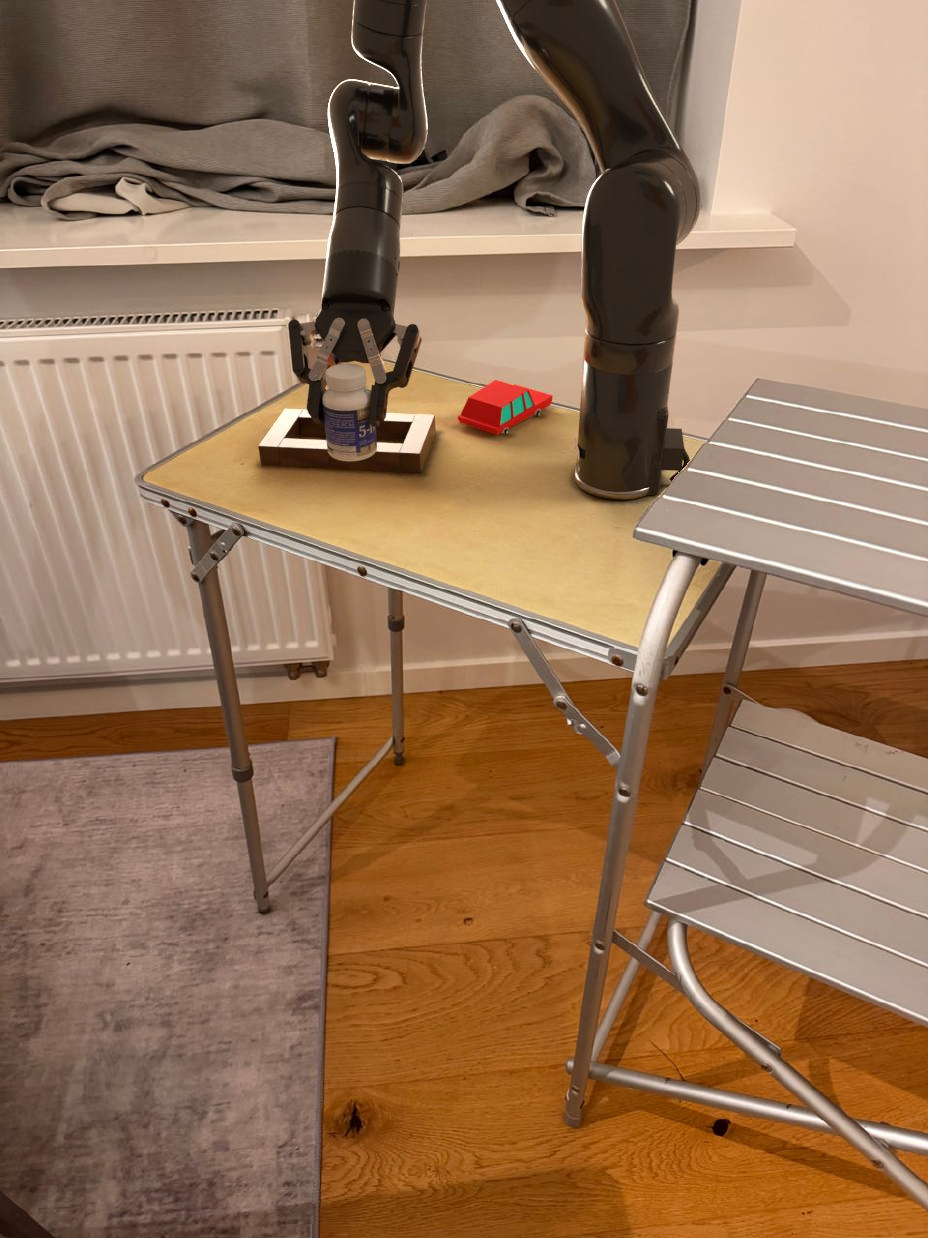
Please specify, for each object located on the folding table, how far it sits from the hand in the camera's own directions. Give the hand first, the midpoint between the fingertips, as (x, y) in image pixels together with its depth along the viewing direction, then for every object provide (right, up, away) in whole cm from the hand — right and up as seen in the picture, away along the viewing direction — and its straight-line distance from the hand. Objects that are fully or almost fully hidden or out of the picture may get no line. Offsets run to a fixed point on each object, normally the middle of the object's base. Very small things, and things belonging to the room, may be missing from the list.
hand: (345, 421), depth 92 cm
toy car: (+18, +6, +25) cm, 31 cm away
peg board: (-2, +1, +18) cm, 18 cm away
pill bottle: (0, -2, +4) cm, 5 cm away
